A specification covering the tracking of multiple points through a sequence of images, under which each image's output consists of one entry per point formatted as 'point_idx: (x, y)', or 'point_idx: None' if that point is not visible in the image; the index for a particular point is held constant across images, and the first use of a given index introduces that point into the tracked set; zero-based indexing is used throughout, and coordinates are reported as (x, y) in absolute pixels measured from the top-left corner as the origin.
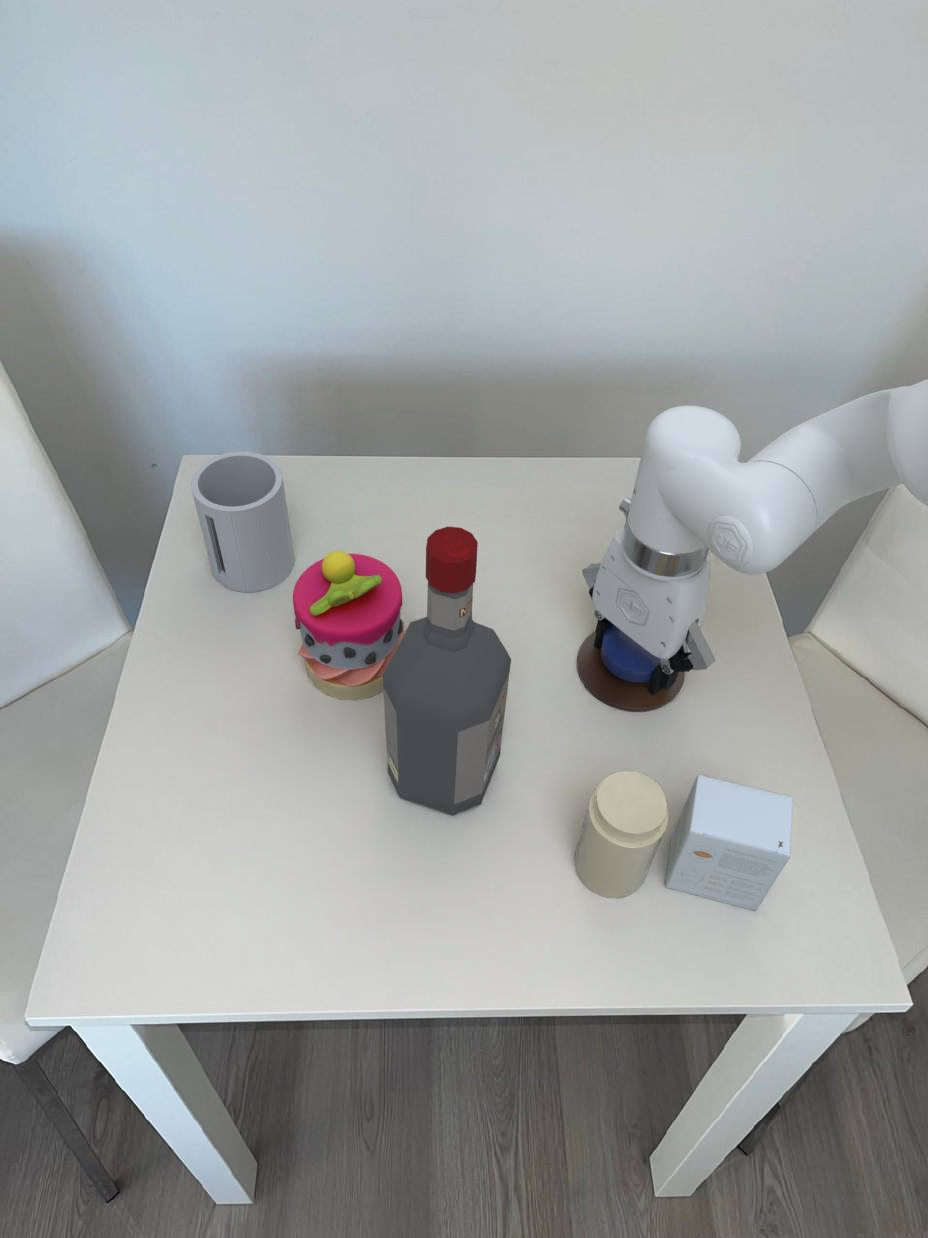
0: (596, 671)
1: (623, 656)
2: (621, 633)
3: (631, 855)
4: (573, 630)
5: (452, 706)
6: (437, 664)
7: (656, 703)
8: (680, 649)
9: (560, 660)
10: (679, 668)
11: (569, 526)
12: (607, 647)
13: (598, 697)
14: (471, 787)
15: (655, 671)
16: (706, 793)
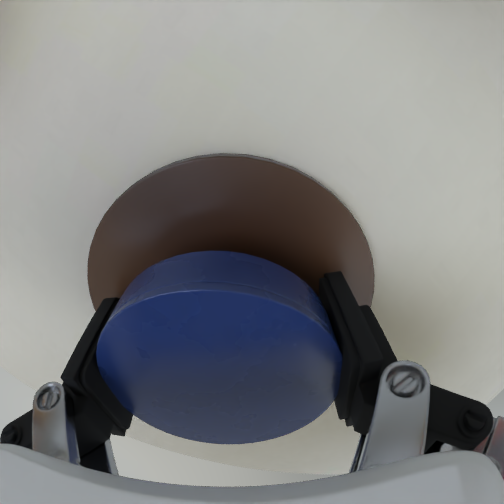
0: (263, 219)
1: (189, 336)
2: (290, 381)
3: None
4: (410, 257)
5: None
6: None
7: (93, 287)
8: (86, 463)
9: (369, 159)
10: (29, 420)
11: (495, 359)
12: (269, 315)
13: (175, 162)
14: None
15: (76, 368)
16: None
